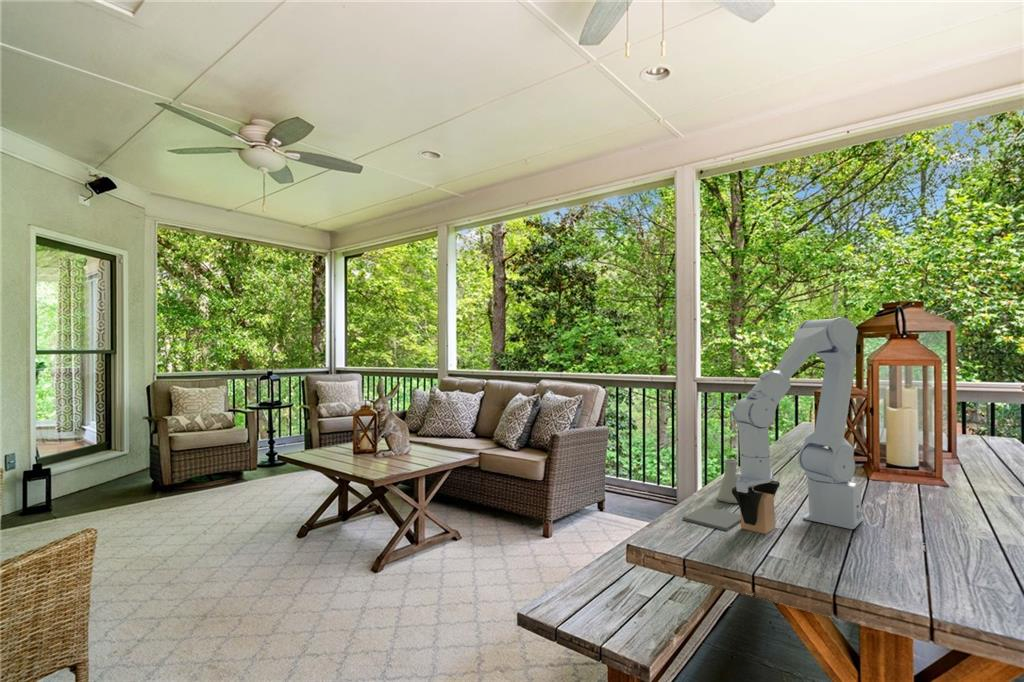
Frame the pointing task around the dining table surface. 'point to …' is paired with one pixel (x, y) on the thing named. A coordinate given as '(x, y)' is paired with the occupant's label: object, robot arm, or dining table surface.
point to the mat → (714, 518)
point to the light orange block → (763, 515)
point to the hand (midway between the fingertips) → (757, 519)
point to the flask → (728, 482)
